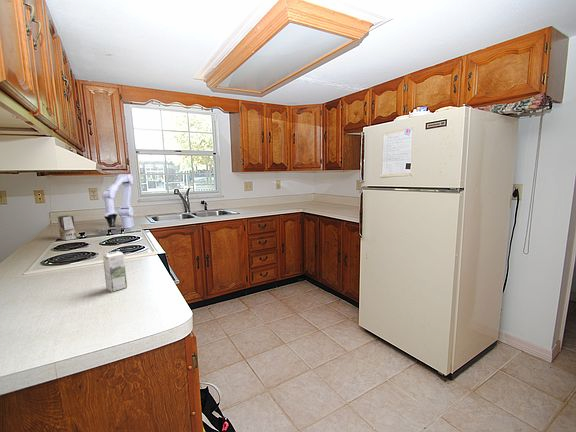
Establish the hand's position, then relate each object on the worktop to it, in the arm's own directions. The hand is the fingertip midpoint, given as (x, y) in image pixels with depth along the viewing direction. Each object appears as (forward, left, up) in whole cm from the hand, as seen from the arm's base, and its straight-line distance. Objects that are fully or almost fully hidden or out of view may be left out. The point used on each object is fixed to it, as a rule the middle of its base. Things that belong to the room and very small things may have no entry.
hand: (111, 224), depth 221 cm
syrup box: (+114, +56, -6) cm, 127 cm away
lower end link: (0, +3, -6) cm, 7 cm away
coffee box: (+18, -21, -6) cm, 28 cm away
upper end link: (0, -2, -6) cm, 6 cm away
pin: (0, 0, -2) cm, 2 cm away
